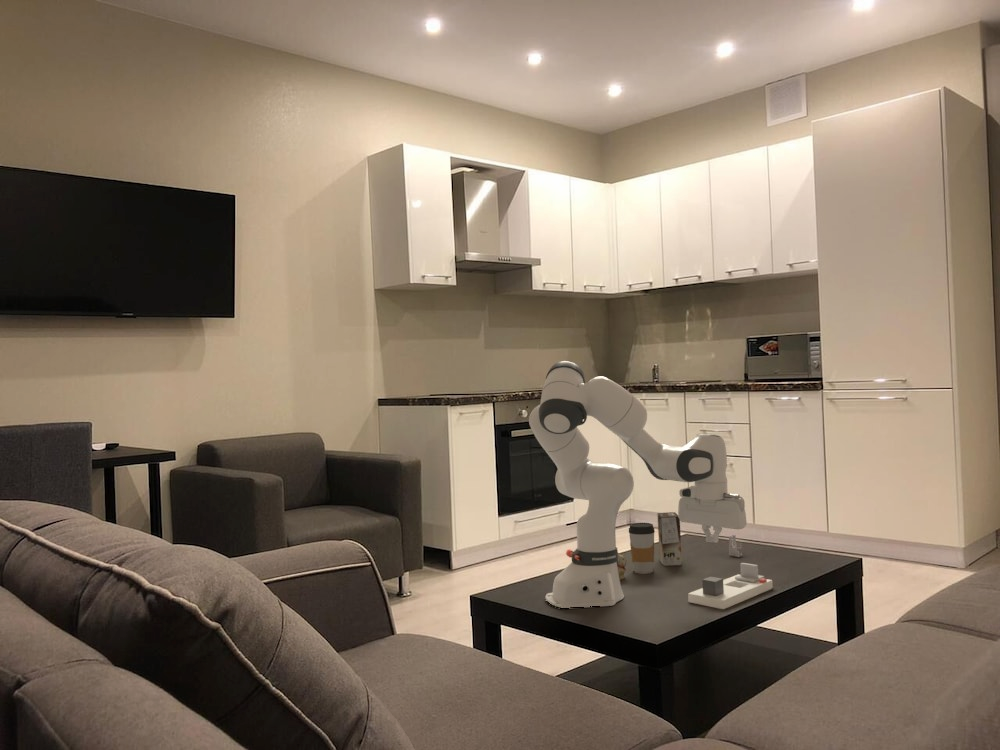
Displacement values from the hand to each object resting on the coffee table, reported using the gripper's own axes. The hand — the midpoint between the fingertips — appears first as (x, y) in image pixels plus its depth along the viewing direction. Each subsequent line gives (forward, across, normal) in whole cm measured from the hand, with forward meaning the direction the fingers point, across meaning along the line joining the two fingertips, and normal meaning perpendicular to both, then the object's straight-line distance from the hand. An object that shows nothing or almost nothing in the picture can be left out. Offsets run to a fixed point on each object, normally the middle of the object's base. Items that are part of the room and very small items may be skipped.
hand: (712, 541), depth 225 cm
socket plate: (+16, 0, -8) cm, 18 cm away
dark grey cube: (+14, 0, +1) cm, 14 cm away
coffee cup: (+16, +36, -14) cm, 42 cm away
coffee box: (+15, +36, -29) cm, 49 cm away
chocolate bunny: (+17, +38, -1) cm, 41 cm away
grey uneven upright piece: (+15, +23, -55) cm, 61 cm away
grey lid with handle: (+13, 0, -18) cm, 22 cm away
